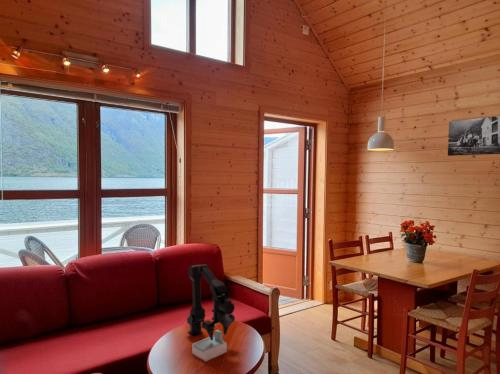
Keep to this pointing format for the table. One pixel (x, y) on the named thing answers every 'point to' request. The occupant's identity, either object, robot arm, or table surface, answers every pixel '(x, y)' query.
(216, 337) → the lid
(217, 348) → the parts tub
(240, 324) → the table surface
